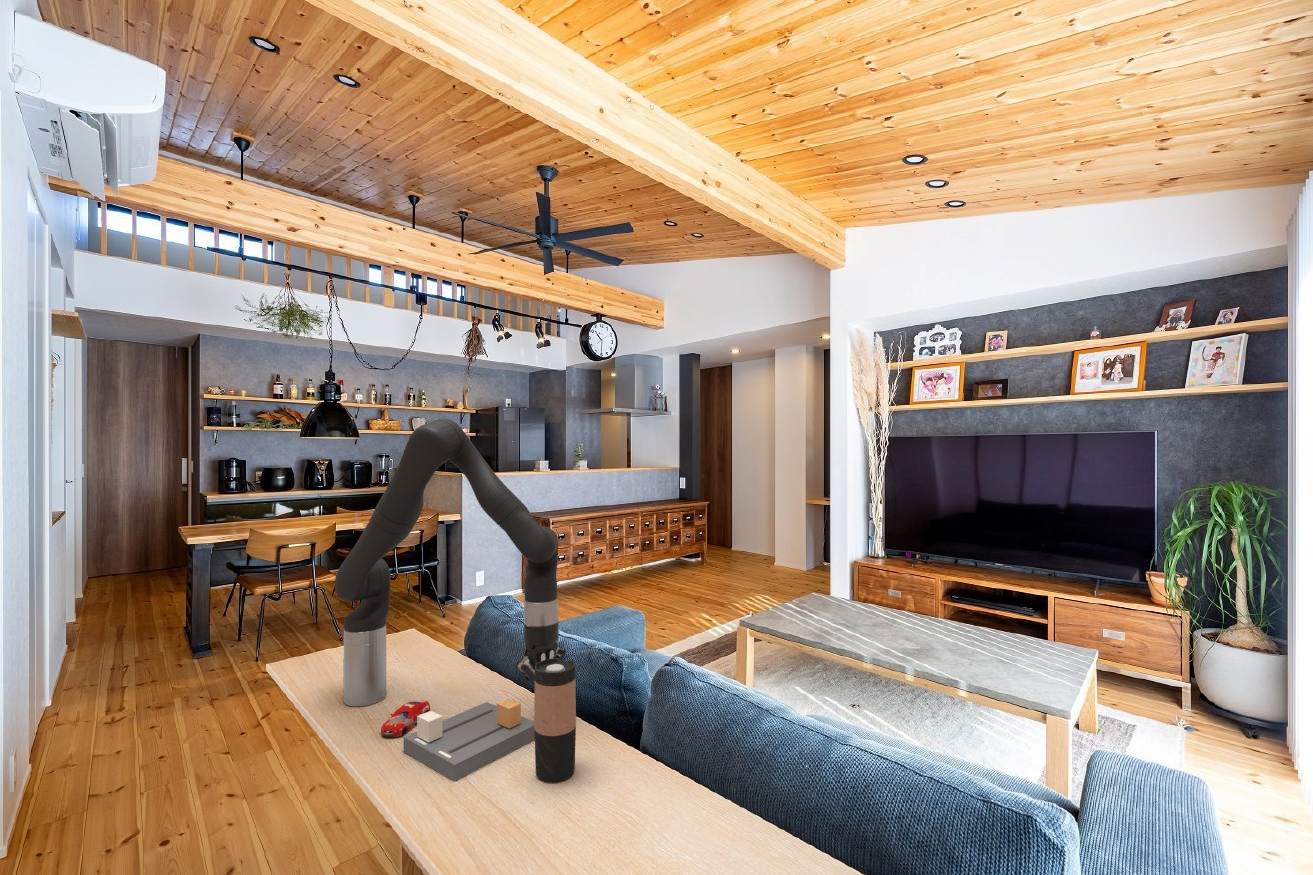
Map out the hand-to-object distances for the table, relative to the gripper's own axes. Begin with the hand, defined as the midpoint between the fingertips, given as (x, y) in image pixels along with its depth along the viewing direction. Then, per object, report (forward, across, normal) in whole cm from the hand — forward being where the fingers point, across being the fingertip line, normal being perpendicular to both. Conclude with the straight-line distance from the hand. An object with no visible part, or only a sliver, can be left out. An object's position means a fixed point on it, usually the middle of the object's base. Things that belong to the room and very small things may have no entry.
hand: (541, 698), depth 132 cm
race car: (+6, +18, -23) cm, 30 cm away
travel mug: (+6, +12, +17) cm, 21 cm away
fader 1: (+2, +22, -8) cm, 23 cm away
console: (+5, +15, -4) cm, 16 cm away
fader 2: (+2, +9, 0) cm, 9 cm away
